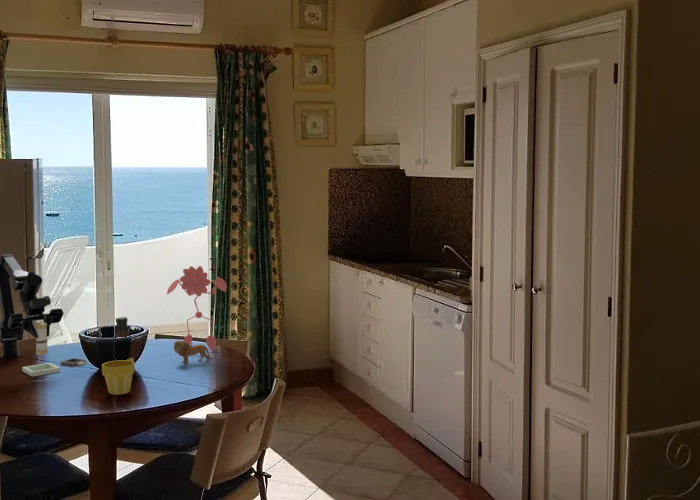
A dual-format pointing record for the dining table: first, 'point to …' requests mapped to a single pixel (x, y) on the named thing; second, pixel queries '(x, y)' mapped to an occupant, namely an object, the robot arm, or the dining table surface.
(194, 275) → the figurine
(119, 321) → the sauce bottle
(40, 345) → the beige round cylinder
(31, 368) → the parts tray
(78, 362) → the fuse block
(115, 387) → the plant pot
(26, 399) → the dining table surface
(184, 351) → the lion figurine
